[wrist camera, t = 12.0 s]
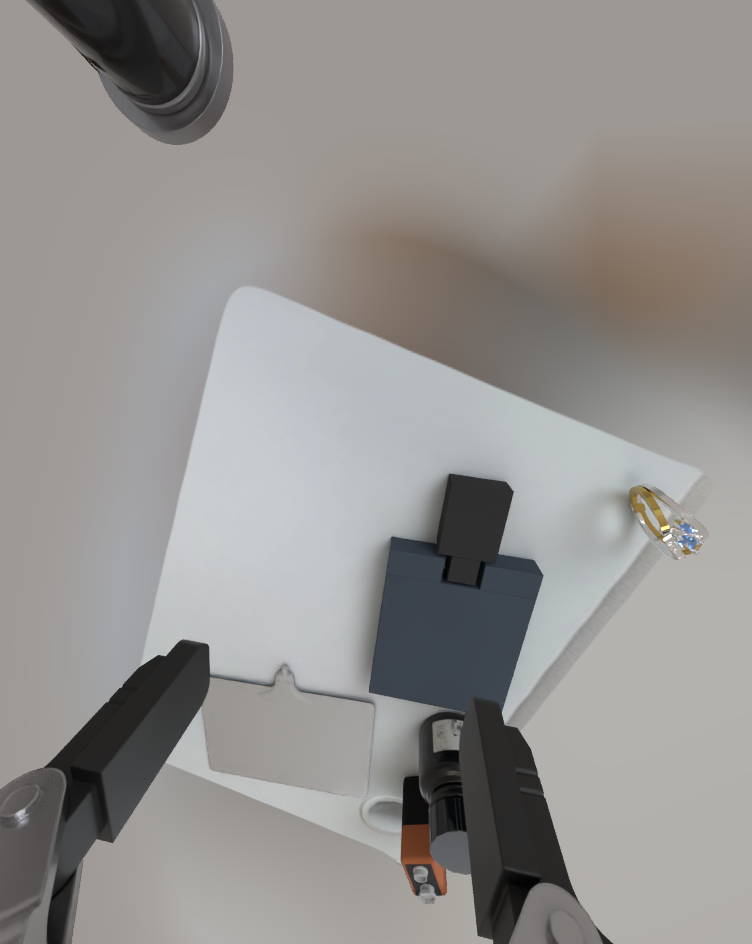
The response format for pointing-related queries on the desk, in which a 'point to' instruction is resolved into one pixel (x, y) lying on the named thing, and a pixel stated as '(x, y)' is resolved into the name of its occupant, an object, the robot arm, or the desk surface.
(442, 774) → the ink bottle
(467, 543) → the pad tile
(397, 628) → the pad mat
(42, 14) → the robot arm
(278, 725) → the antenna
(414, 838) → the battery
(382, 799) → the desk surface
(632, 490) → the ring
